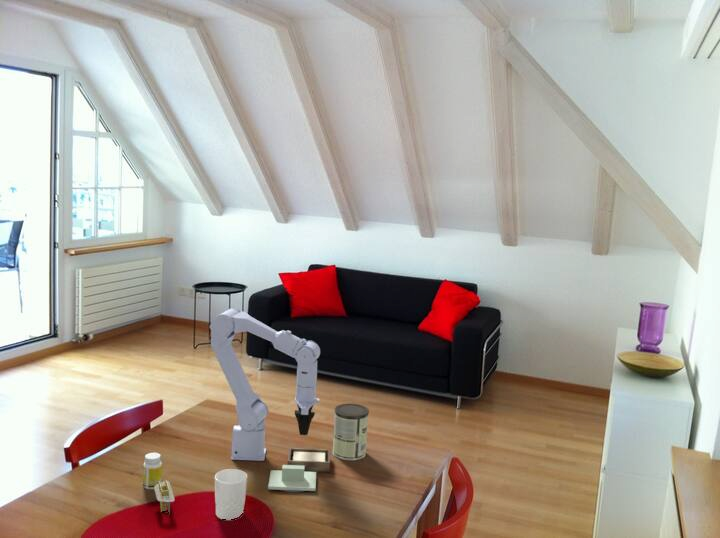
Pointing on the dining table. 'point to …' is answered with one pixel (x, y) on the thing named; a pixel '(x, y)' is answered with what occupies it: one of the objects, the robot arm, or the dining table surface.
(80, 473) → the dining table surface
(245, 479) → the white cup
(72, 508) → the dining table surface
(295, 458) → the box
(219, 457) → the dining table surface
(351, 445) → the coffee can
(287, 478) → the lid
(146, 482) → the supplement bottle
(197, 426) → the dining table surface
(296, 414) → the robot arm
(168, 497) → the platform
